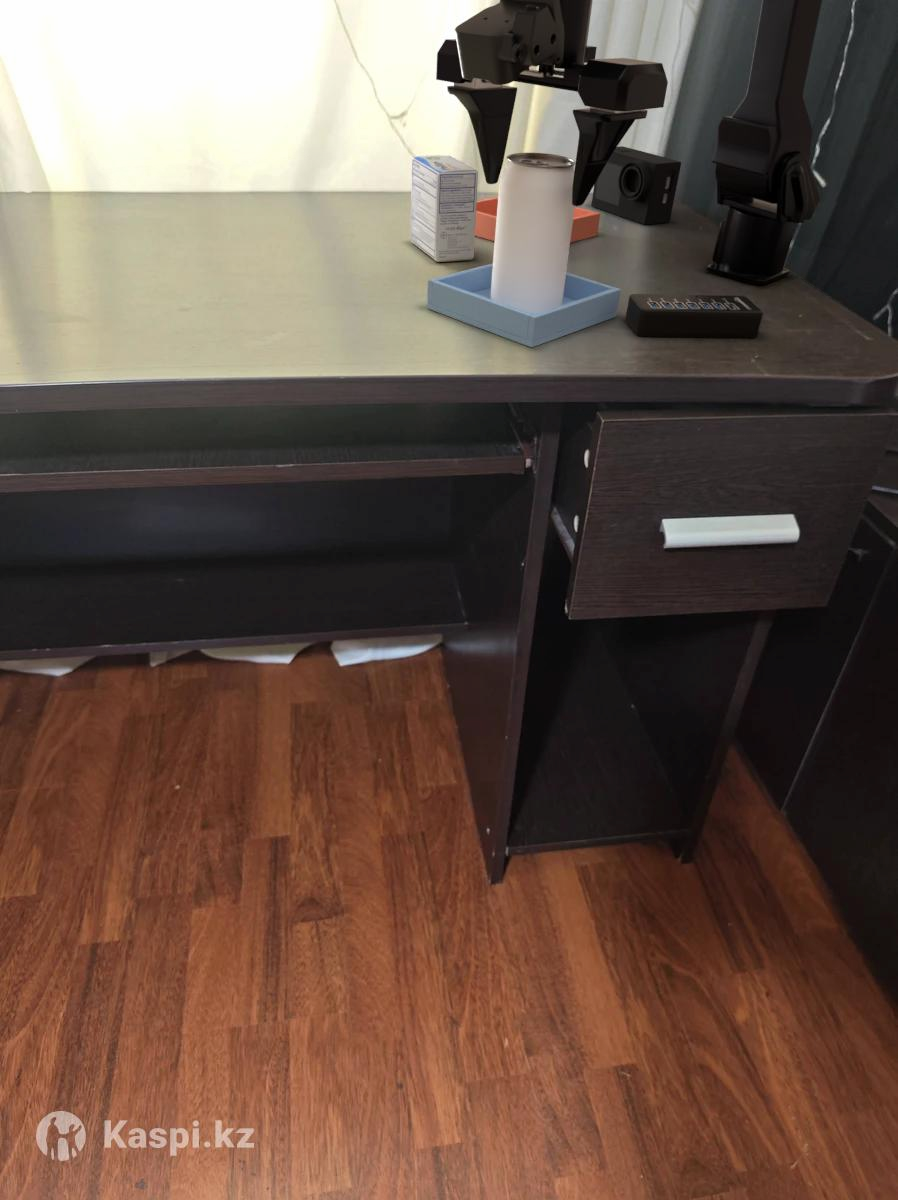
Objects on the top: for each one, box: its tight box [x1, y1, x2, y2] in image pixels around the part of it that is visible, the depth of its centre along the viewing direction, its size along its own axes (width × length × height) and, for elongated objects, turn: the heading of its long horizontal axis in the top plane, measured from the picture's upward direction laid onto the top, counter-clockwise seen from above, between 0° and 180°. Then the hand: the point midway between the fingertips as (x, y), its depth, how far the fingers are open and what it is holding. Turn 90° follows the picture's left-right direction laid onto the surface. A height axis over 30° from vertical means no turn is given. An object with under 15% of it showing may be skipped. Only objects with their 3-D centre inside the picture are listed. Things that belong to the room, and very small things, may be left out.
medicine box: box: [410, 154, 479, 263], centre depth 89 cm, size 8×4×9 cm, turn 22°
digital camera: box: [591, 145, 682, 226], centre depth 107 cm, size 10×5×7 cm, turn 33°
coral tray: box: [475, 196, 601, 244], centre depth 99 cm, size 12×12×2 cm
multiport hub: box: [624, 293, 764, 339], centre depth 75 cm, size 4×11×2 cm, turn 96°
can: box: [490, 152, 576, 315], centre depth 73 cm, size 6×6×12 cm
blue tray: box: [426, 262, 622, 348], centre depth 76 cm, size 12×12×2 cm
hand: (533, 194), depth 71 cm, fingers open, 9 cm apart
